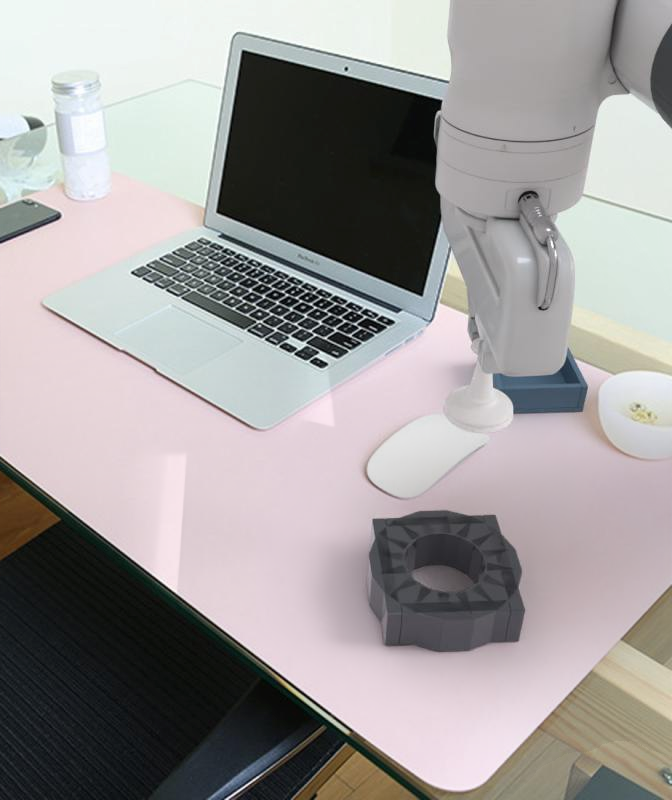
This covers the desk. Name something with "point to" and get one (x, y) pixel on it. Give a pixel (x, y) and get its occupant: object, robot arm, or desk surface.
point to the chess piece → (479, 400)
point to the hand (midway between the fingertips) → (486, 353)
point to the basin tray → (546, 389)
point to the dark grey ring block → (435, 610)
